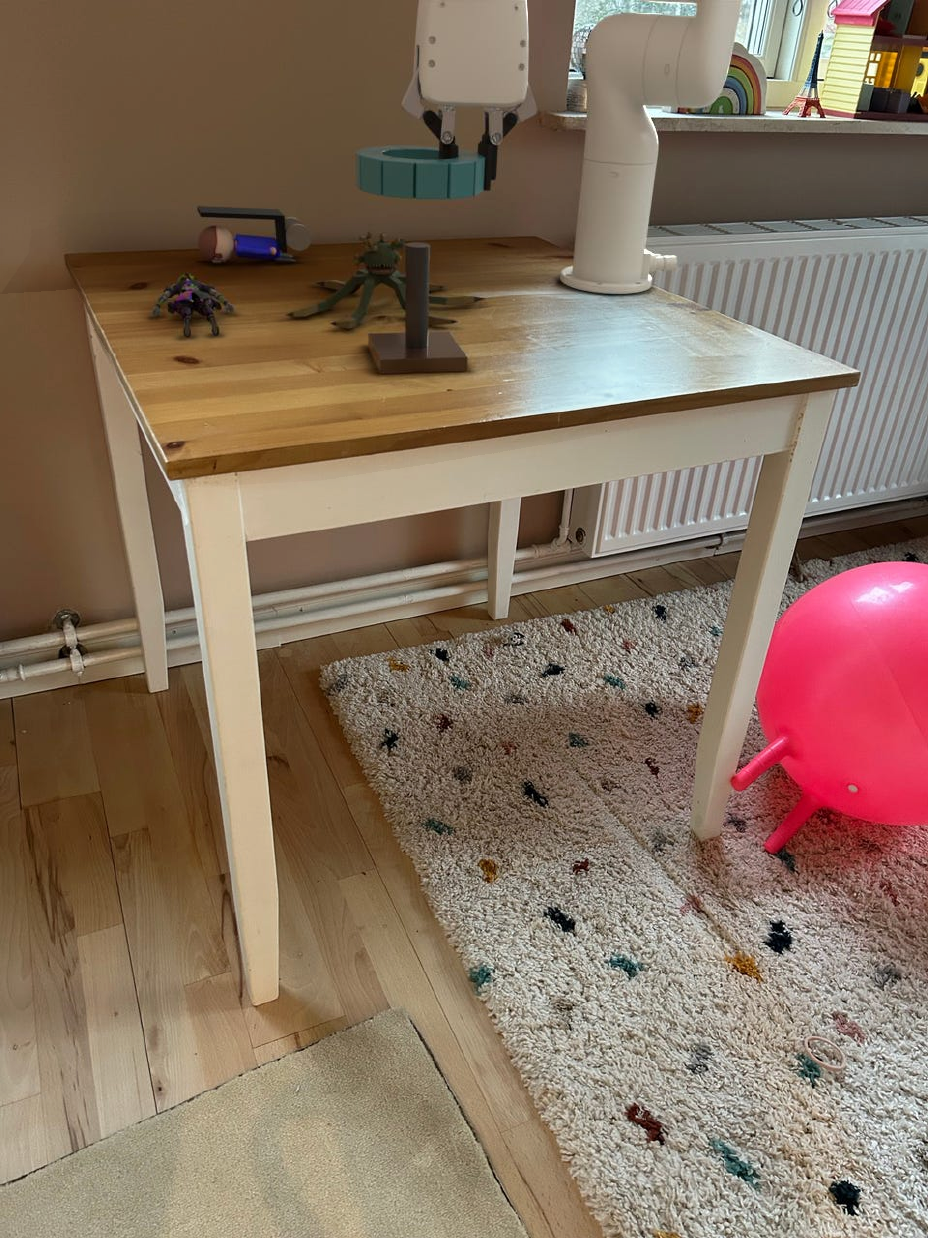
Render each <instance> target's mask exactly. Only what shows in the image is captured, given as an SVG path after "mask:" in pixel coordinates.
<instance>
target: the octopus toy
mask: <svg viewBox="0 0 928 1238" xmlns="http://www.w3.org/2000/svg"><path fill="white" fill-rule="evenodd" d="M378 235H379V236H378V237H379V241H376V242H374V239H373V238H372V236H373V231H367V235H366V236H364V235H360V236H359V237H358V240H359V241H360V242H363V243H364V244H366V245H365V247H364V251H363V255H361V254H360V253H357V252H356V253H355V255H353V257H352V258H353V265H354V266H357V267H360V265H361V264H362V263H364V267H365V268H364V269H357V271H356V273H355V274H352V275H351V277H350V278H349V279H348V280H347V281H345V282H344V281H342V280H341V281H340V280H337V279H330V280H324V281H318V282H315V285H319V286H320V287H324V288H327V289H333V290H336V291H335V292H334V293H333V294H332V295H330V296H329V297H328V298H326V300H324V301H321V302H317V303H312V304H310V305H307V306H304V307H302V308H298V309H296V310H294V311H291V312H289V313H286V314H285V316H288V317H291V318H294V317H295V318H301V317H308V316H310V315H312V314H316V313H319V312H324V311H328V310H331V309H332V308H334V307H335V306H336V305H337V304H339V302H341V301H342V300H344V298H345V297H347V296H348V295H353V294H354V293H356V292H358V291H359V290H360V289H361V287H362V286H363V288H362V292H361V297H360V300H359V306H358V308H357V309H356V310H355V311H354V312H353V313H351V315H349V316H348V317H344V318H341V319H338V320H335V321H332V322H330V323H329V324H330V325H332V326H335V327H338V328H344V329H348V330H349V329H353V328H354V327H357V326H358V325H359V324H360V323H361V322H362V321H363V320H364V319H365V317H366V316H367V314H368V312H369V308H370V304H371V300H372V296H373V292H374V291H375V289H376V288H377V286H379V285H381V284H382V285H384V286H388V287H389V288H390V289H392V290H394V292H395V295H396V297H397V300H398V302H399V305H400V307H401V308H402V309H403V310H404V311H405V291H406V274H402V273H401V272H400V270H399V269H397V268H398V265H400V263H401V261H402V259H403V256H401V252H400V251H397V249H403V250H406V244H407V243H406V240H405V239H406V238H400V237H396V238H395V239H394V240H393V241H387V242H386V234H385V233H383V232H381V233H380V234H378ZM443 288H445V285H441V284H436V283H431V282H429V292H430V291H438V290H441V289H443ZM485 300H487V297H486V298H485V297H480V296H474V295H473V296H472V295H463V296H462V295H461V296H448V297H447V296H441V295H433V294H431V293H429V305H430V304H431V305H432V304H433V305H440V306H441V305H442V306H457V305H469V304H472V303H476V302H479V301H485ZM456 323H459V321H458V320H456V319H453V318H451V317H447V316H443V315H439V314H435V313H431V312H429V317H428V325H432V326H444V325H451V324H452V325H453V324H456Z"/></svg>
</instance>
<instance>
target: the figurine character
mask: <svg viewBox="0 0 928 1238" xmlns="http://www.w3.org/2000/svg"><path fill="white" fill-rule="evenodd" d="M196 206H197V207H196V208H197V210H196V211H197V213H198V214H199V216H200V218H210V219H211V218H214V219H241V220H265V221H266V220H267V221H269V220H270V221H274V228H275V229H274V230H275V237H271V236H262V235H261V236H260V235H250V234H242V233H241V234H240V233H236V234H235V237H234V238H233V235H232V234H231V232H230V231H229V230H228V229H227V228H225V227H223V226H221V225H209V226H207V227H205V228H204V229H203V230H202V231H201V232H200V234H199V236H198V240H197V245H198V250H199V252H200V254H201V256H202V257H203V258H204V260H206V261H208V262H210V263H212V264H223V263H226V262H228V261H229V260H230V259H231V258H232V257H233V255H234V253H235V257H236V258H242V259H254V260H266V261H275V262H279V263H290V264H294V263H296V262H297V260H295V259H294V256H293V255H292V254H290V253H288V247H289V248H290V249H291V250H294V251H297V252H300V251H304V250H306V249H308V248H309V247H310V245H311V243H312V233H311V231H310V230H309V229H308V228H307V227H306V226H305V225H304V224H303V222H301V221H300V220H299V219H298V218H296V217H293V216H287V217H286V215H285V214H284V213H283V212H282V211H281V210H280V209H278V208H257V207H256V208H255V207H254V208H253V207H232V206H230V207H229V206H206V205H196Z"/></svg>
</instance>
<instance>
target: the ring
mask: <svg viewBox="0 0 928 1238" xmlns="http://www.w3.org/2000/svg"><path fill="white" fill-rule="evenodd" d="M354 154H355V157H354V158H355V185H356V187H357V189H359V191H361V192H365V193H368V194H371V195H372V194H373V195H376V196H380V197H381V196H383V197H387V198H388V197H390V198H400V199H408V200H409V199H410V200H413V199H416V200H454V199H455V200H456V199H464V198H472V197H476V196H478V195H479V194H482V193H484V192H485V191H484V171H485V157H484V156H482V155H480V154H479V153H478V152H477V151H476V152H475V151H471V150H465V149H460V148H459V151H458V157H457V158H454V159H441V160H439V146H429V145H427V146H424V145H381V146H380V145H378V146H369V147H364V148H361V149H357V150H355V152H354Z"/></svg>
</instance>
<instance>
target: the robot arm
mask: <svg viewBox="0 0 928 1238" xmlns="http://www.w3.org/2000/svg"><path fill="white" fill-rule="evenodd" d="M527 1H528V0H418V4H417V14H416V22H415V23H416V24H415V26H416V27H415V35H414V36H415V37H414V51H413V53H414V55H413V73H412V75H413V76H412V78H411V80H410V83H409V85H408V87H407V90H406V92H405V94H404V96H403V98H402V101H401V104H400V105H401V109H402V110H403V111H404V112H406V113H407V114H409V115H411V116H412V117H414V118H416V119H417V120H419V121H421V122H423V123H424V124H425V126H426V127H427V128H428V129H429V130H430V132H431V133H432V134H433V135H434V137H435V138H436V140H438V147H439V160H441V159H454V158H457V157H458V151H459V149H460V148H459V145H458V144H457V143H456V136H455V127H456V126H455V125H456V114H457V107H472V108H474V107H475V108H482V112H483V113H482V114H483V115H482V117H483V118H482V119H483V134H482V135H481V140H479V142H478V143H477V153H479V154H480V155H482V156H484V157H485V171H484V191H483V192H486V191H488V192H490V191H491V186H492V181H496V178H497V168H498V152H499V151H498V150H499V145H500V144H502V142H503V139H504V138H505V137H506V136H507V135H508V134H509V133H510V132H511V131H512V130H513V128H515V126H516V125H517V124H520V123H522V122H524V121H526V120H527V119H529V118H531V117H533V116H535V115H536V114H537V112H538V106H537V103H536V100H535V97H534V95H533V94H534V93H533V91H532V89H531V86H530V83H529V58H530V57H529V50H530V49H529V17H528V2H527ZM637 1H638V2H646V3H661V4H662V3H663V4H665V3H666V4H687V5H688V4H689V5H694V6H696V11H695V15H681V14H680V15H678V14H665V13H651V12H650V13H649V12H621V13H615V14H612V15H608V16H606V17H604V18H603V19H601V20H600V21H598V22H597V23H596V25H595V26H594V27H593V28H592V30H591V32H590V33H589V36H588V39H587V42H586V46H585V53H584V69H585V70H584V71H585V89H586V119H585V120H586V121H585V133H584V134H585V135H584V147H583V158H582V166H581V167H582V168H581V169H582V170H581V179H580V189H579V200H578V210H577V217H576V218H577V221H576V230H575V240H574V250H573V260H572V265H571V266H567V267H564V268H563V269H561V271H560V277H559V279H560V282H561V283H563V284H564V285H565V286H567V287H570V288H572V289H577V290H581V291H585V292H590V293H598V294H608V295H609V294H610V295H628V294H638V293H642V292H646V291H647V290H649V289H651V287H652V285H653V277H652V276H651V275H650V274H654V273H655V271H662V272H666V271H667V272H675V271H676V270H677V266H678V258H677V256H676V255H661V254H660V253H652V252H651V251H649V250H647V249H646V244H647V237H648V230H649V221H650V215H651V207H652V201H653V193H654V186H655V179H656V173H657V165H658V158H659V157H658V156H659V146H660V145H659V136H658V133H657V130H656V127H655V125H654V122H653V121H652V119H651V116H650V115H649V112H648V110H647V108H646V106H659V107H668V108H669V107H672V108H682V109H703V108H706V107H710V106H711V105H712V104H713V103H715V102H716V101H717V99H718V98H719V96H720V95H721V93H722V91H723V89H724V86H725V82H726V80H727V77H728V73H729V68H730V64H731V60H732V54H733V50H734V45H735V40H736V35H737V31H738V26H739V21H740V16H741V12H742V6H743V3H744V0H637ZM422 100H423V101H426V102H427V103H429V104H432V105H435V106H437V108H436V112H435V111H433V110H431V108H429V107H427V106H426V105H424V104H423V103H422ZM511 107H512V108H511ZM504 108H511V109H509V110H506V111H503V109H504Z"/></svg>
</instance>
